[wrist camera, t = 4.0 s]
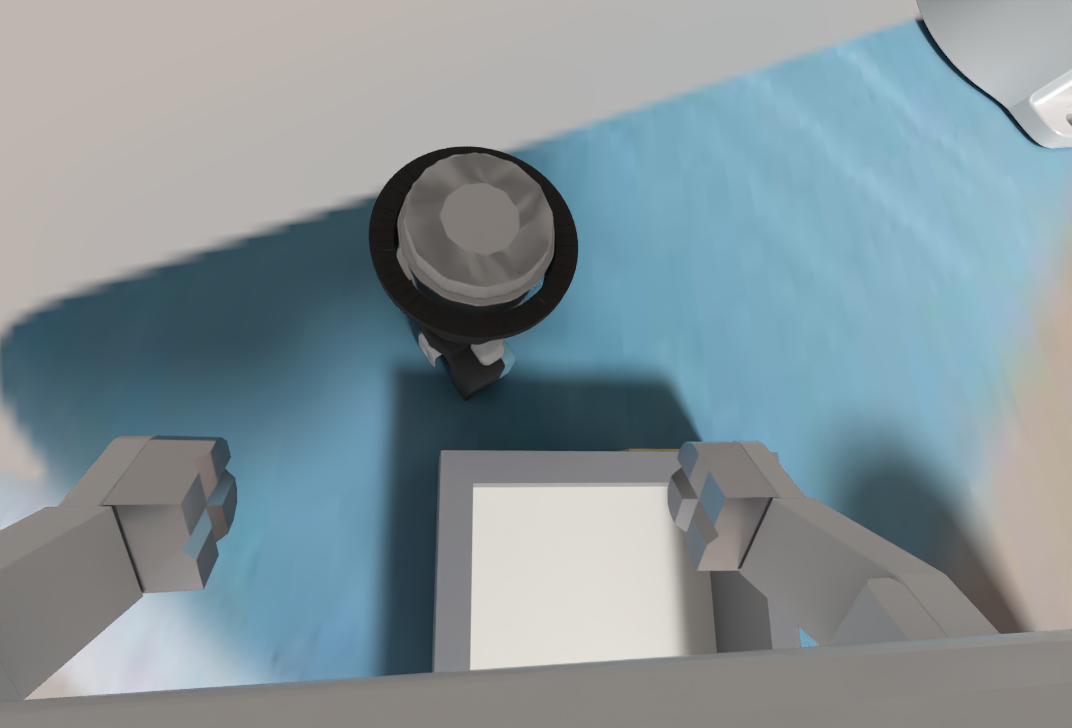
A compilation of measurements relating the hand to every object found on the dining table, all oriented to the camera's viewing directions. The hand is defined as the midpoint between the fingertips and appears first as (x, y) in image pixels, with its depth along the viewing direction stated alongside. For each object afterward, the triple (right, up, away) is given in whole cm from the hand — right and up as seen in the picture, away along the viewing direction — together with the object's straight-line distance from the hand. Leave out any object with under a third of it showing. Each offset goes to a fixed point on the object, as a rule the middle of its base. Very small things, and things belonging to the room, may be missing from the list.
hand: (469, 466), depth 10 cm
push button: (-2, +3, +13) cm, 13 cm away
